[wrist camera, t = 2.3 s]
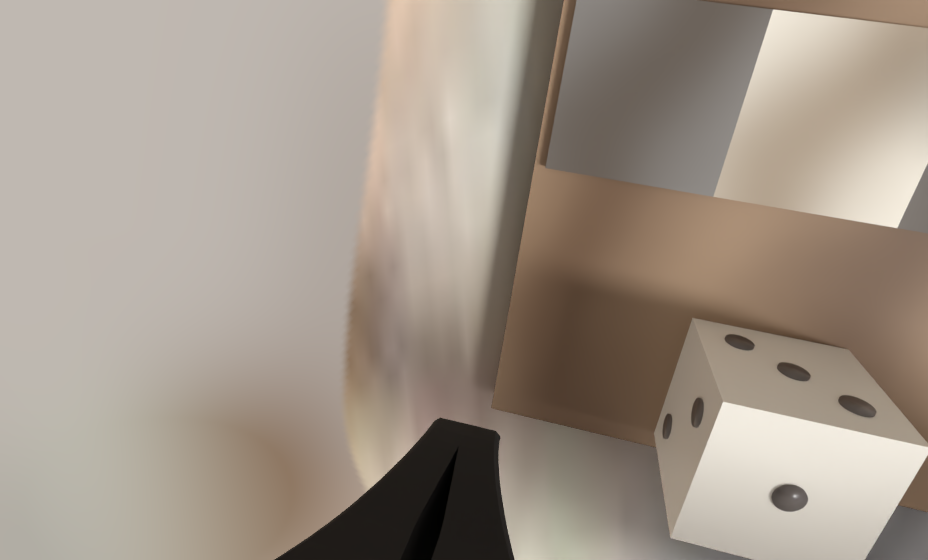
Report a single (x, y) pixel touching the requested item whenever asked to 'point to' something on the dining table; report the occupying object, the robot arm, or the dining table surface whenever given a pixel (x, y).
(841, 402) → the die
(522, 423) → the dining table surface
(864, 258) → the board
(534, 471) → the dining table surface
